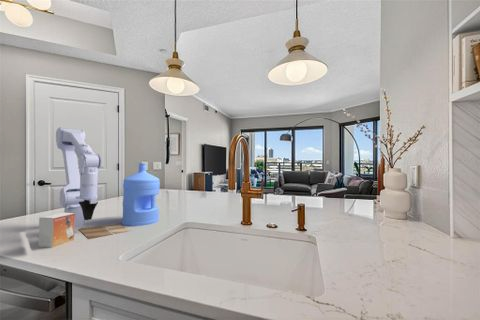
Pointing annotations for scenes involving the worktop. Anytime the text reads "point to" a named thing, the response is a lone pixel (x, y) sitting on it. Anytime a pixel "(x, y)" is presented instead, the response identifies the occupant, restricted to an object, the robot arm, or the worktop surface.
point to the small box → (56, 229)
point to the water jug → (140, 198)
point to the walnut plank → (95, 232)
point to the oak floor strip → (116, 228)
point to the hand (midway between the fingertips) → (87, 219)
